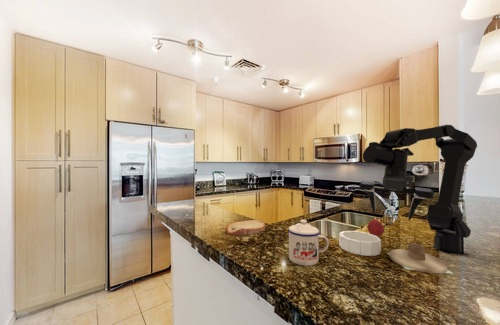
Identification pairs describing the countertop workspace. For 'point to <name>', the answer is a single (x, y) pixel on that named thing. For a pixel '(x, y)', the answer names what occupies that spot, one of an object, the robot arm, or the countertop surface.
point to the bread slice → (245, 228)
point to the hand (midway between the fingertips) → (390, 216)
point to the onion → (375, 227)
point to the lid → (418, 259)
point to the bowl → (360, 243)
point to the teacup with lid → (305, 243)
